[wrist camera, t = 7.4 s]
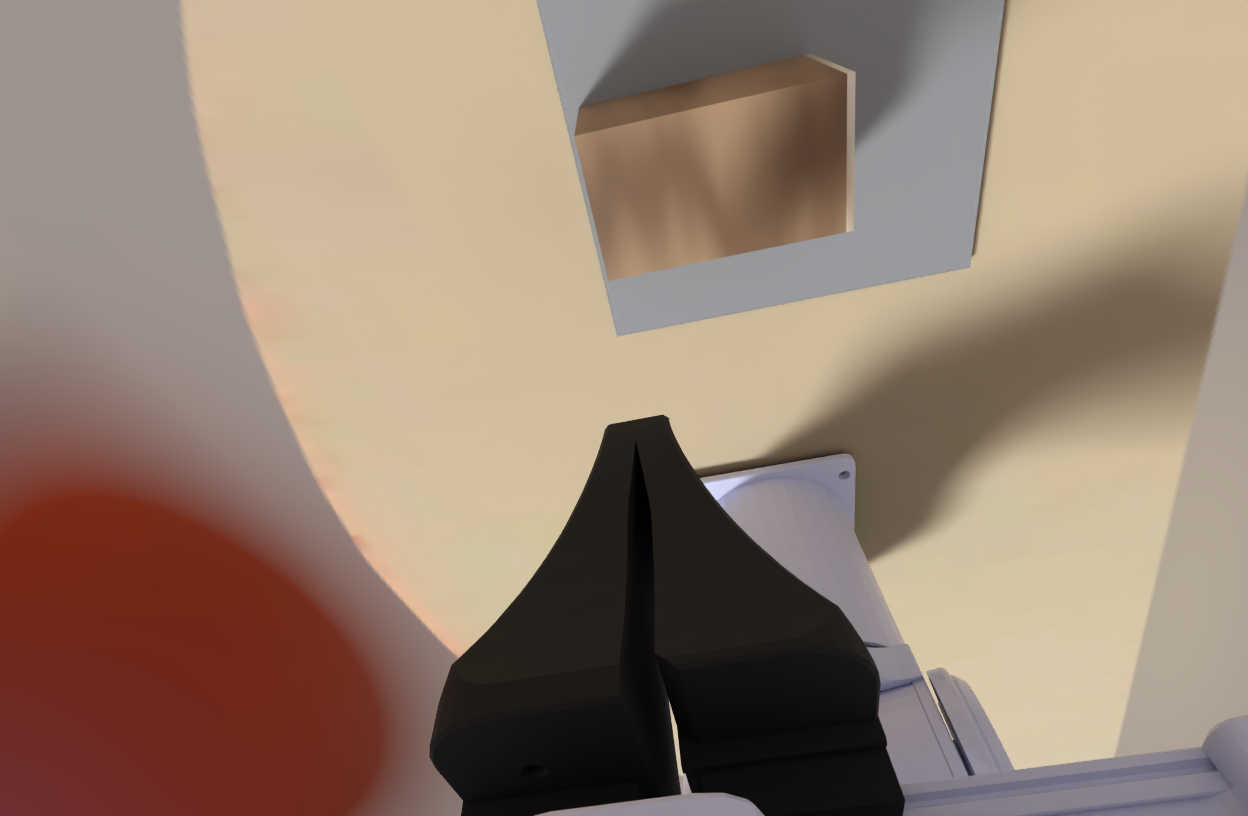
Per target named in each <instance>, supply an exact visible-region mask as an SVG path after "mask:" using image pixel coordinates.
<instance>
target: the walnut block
mask: <svg viewBox="0 0 1248 816" xmlns="http://www.w3.org/2000/svg"><path fill="white" fill-rule="evenodd" d="M855 81H856V72H854V71H852V70H849V69H847V68H845V67H842V66H840V65H837V64H835V63H832V62H830V61H827V60H825V59H822V58H820V57H817V56H815V55H812V54H807V55H802V56H798V57H794V58H789V59H785V60H781V61H776V62H772V63H768V64H764V65H759V66H755V67H751V68H746V69H742V70H738V71H733V72H729V73H725V74H720V75H716V76H712V77H708V78H703V79H699V80H695V81H690V82H686V83H682V84H677V85H673V86H669V87H664V88H660V89H656V90H652V91H647V92H643V93H639V94H634V95H630V96H626V97H621V98H617V99H613V100H608V101H604V102H600V103H596V104H591V105H587V106H583V107H579V110H578V116H577V122H576V128H575V134H574V138H575V142H576V146H577V150H578V155H579V159H580V163H581V167H582V172H583V176H584V180H585V184H586V189H587V193H588V197H589V201H590V206H591V210H592V214H593V218H594V222H595V227H596V231H597V235H598V239H599V244H600V248H601V252H602V256H603V261H604V265H605V269H606V273H607V278H608V281H610V280H615V279H620V278H625V277H630V276H635V275H640V274H645V273H650V272H654V271H659V270H664V269H669V268H674V267H679V266H684V265H689V264H694V263H699V262H703V261H708V260H713V259H718V258H723V257H728V256H733V255H738V254H743V253H747V252H752V251H757V250H762V249H767V248H772V247H777V246H782V245H787V244H792V243H796V242H801V241H806V240H811V239H816V238H821V237H826V236H831V235H836V234H840V233H845V232H850V231H854V160H855Z"/></svg>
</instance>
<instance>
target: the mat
mask: <svg viewBox="0 0 1248 816" xmlns="http://www.w3.org/2000/svg"><path fill="white" fill-rule="evenodd" d="M1004 2H1005V0H537V4H538V9H539V13H540V17H541V21H542V25H543V29H544V34H545V38H546V42H547V46H548V50H549V54H550V59H551V63H552V67H553V71H554V75H555V79H556V83H557V88H558V92H559V96H560V100H561V104H562V108H563V113H564V117H565V121H566V125H567V129H568V133H569V138H570V142H571V146H572V150H573V154H574V158H575V163H576V167H577V171H578V175H579V179H580V183H581V188H582V192H583V196H584V200H585V204H586V208H587V213H588V217H589V221H590V225H591V229H592V233H593V238H594V242H595V246H596V250H597V254H598V258H599V263H600V267H601V271H602V275H603V279H604V283H605V287H606V292H607V296H608V300H609V304H610V308H611V312H612V317H613V321H614V325H615V329H616V333H617V336H622V335H627V334H632V333H638V332H643V331H648V330H653V329H658V328H663V327H668V326H673V325H678V324H684V323H689V322H694V321H699V320H704V319H709V318H714V317H719V316H725V315H730V314H735V313H740V312H745V311H750V310H755V309H760V308H765V307H771V306H776V305H781V304H786V303H791V302H796V301H801V300H806V299H812V298H817V297H822V296H827V295H832V294H837V293H842V292H847V291H852V290H858V289H863V288H868V287H873V286H878V285H883V284H888V283H893V282H898V281H904V280H909V279H914V278H919V277H924V276H929V275H934V274H939V273H945V272H950V271H955V270H960V269H965V268H970V264H971V257H972V249H973V241H974V234H975V226H976V218H977V210H978V203H979V195H980V187H981V180H982V172H983V164H984V157H985V149H986V141H987V133H988V126H989V118H990V110H991V103H992V95H993V87H994V79H995V72H996V64H997V56H998V49H999V41H1000V33H1001V26H1002V18H1003V10H1004ZM807 54H812V55H815V56H817V57H820V58H822V59H825V60H827V61H830V62H832V63H835V64H837V65H840V66H842V67H845V68H847V69H849V70H852V71H854V72H856V81H855V160H854V231H850V232H845V233H840V234H836V235H831V236H826V237H821V238H816V239H811V240H806V241H801V242H796V243H792V244H787V245H782V246H777V247H772V248H767V249H762V250H757V251H752V252H747V253H743V254H738V255H733V256H728V257H723V258H718V259H713V260H708V261H703V262H699V263H694V264H689V265H684V266H679V267H674V268H669V269H664V270H659V271H654V272H650V273H645V274H640V275H635V276H630V277H625V278H620V279H615V280H610V281H608V278H607V273H606V269H605V265H604V261H603V256H602V252H601V248H600V244H599V239H598V235H597V231H596V227H595V222H594V218H593V214H592V210H591V206H590V201H589V197H588V193H587V189H586V184H585V180H584V176H583V172H582V167H581V163H580V159H579V155H578V150H577V146H576V142H575V138H574V134H575V128H576V122H577V116H578V110H579V107H583V106H587V105H591V104H596V103H600V102H604V101H608V100H613V99H617V98H621V97H626V96H630V95H634V94H639V93H643V92H647V91H652V90H656V89H660V88H664V87H669V86H673V85H677V84H682V83H686V82H690V81H695V80H699V79H703V78H708V77H712V76H716V75H720V74H725V73H729V72H733V71H738V70H742V69H746V68H751V67H755V66H759V65H764V64H768V63H772V62H776V61H781V60H785V59H789V58H794V57H798V56H802V55H807Z"/></svg>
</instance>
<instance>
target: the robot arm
mask: <svg viewBox="0 0 1248 816" xmlns="http://www.w3.org/2000/svg"><path fill="white" fill-rule="evenodd" d="M843 471H846V472H845V473H843V474H840V473H841V472H843ZM855 472H856V464H855V461H854V459H853V457H852V456H851V455H849V454H837V455H831V456H826V457H820V458H814V459H808V460H802V461H796V462H791V463H785V464H779V465H773V466H767V467H761V468H756V469H750V470H744V471H738V472H732V473H726V474H721V475H715V476H709V477H703V478H699V477H698V475H697V474H696V472H695V471H694V469H693V468H692V466H691V465H690V463H689V461H688V460H687V458H686V457H685V455H684V453H683V452H682V450H681V448H680V446H679V444H678V442H677V440H676V438H675V436H674V434H673V431H672V429H671V426H670V422H669V418H668V417H666V416H664V415H659V416H653V417H648V418H642V419H637V420H632V421H626V422H621V423H615V424H610V425H608V426H607V428H606V429H605V432H604V436H603V439H602V443H601V446H600V449H599V452H598V455H597V458H596V460H595V463H594V466H593V468H592V471H591V473H590V475H589V478H588V480H587V483H586V485H585V487H584V490H583V492H582V494H581V496H580V498H579V500H578V502H577V504H576V506H575V508H574V510H573V512H572V514H571V516H570V518H569V520H568V522H567V524H566V526H565V527H564V529H563V531H562V533H561V535H560V536H559V538H558V540H557V541H556V543H555V544H554V546H553V548H552V549H551V551H550V552H549V554H548V555H547V557H546V558H545V560H544V561H543V563H542V564H541V566H540V567H539V568H538V570H537V571H536V573H535V574H534V576H533V577H532V578H531V580H530V581H529V582H528V584H527V585H526V586H525V588H524V589H523V590H522V591H521V593H520V594H519V595H518V596H517V597H516V599H515V600H514V601H513V602H512V603H511V604H510V606H509V607H508V608H507V609H506V610H505V612H504V613H503V614H502V615H501V616H500V617H499V619H498V620H497V621H496V622H495V623H494V624H493V625H492V626H491V627H490V629H489V630H488V631H487V632H486V633H485V634H484V635H483V636H482V637H481V638H480V639H479V640H477V641H476V642H475V643H474V644H473V645H472V646H471V647H470V648H469V649H468V650H467V651H466V652H465V653H464V654H463V655H462V656H461V657H460V658H459V659H458V660H457V661H456V662H454V663H453V664H452V666H451V668H450V671H449V674H448V677H447V680H446V683H445V686H444V688H443V692H442V695H441V698H440V701H439V705H438V710H437V714H436V719H435V724H434V729H433V733H432V738H431V743H430V759H431V761H432V762H433V764H434V766H435V768H436V769H437V770H438V772H439V773H440V774H441V775H442V776H443V777H444V778H445V780H446V781H447V782H448V783H449V784H450V786H451V787H452V788H453V789H454V790H455V791H456V792H457V794H458V795H459V796H460V797H461V799H462V800H463V806H462V813H461V816H1248V715H1245V716H1240V717H1236V718H1231V719H1228V720H1225V721H1223V722H1221V723H1219V724H1217V725H1216V726H1214V727H1213V728H1212V729H1211V730H1210V731H1209V732H1208V734H1207V735H1206V737H1205V740H1204V742H1203V745H1202V747H1194V748H1187V749H1179V750H1171V751H1163V752H1155V753H1147V754H1139V755H1131V756H1123V757H1116V758H1107V759H1099V760H1091V761H1084V762H1076V763H1068V764H1060V765H1052V766H1044V767H1036V768H1028V769H1020V770H1014V768H1013V766H1012V764H1011V762H1010V760H1009V758H1008V756H1007V754H1006V752H1005V750H1004V748H1003V746H1002V744H1001V742H1000V740H999V738H998V736H997V734H996V732H995V730H994V728H993V726H992V724H991V722H990V721H989V719H988V717H987V715H986V713H985V711H984V709H983V708H982V706H981V704H980V702H979V700H978V699H977V697H976V695H975V694H974V692H973V690H972V689H971V687H970V686H969V684H968V683H967V682H966V681H964V680H962V679H960V678H958V677H956V676H954V675H950V674H949V673H948V672H947V671H946V669H944V668H936V669H933V670H930V671H927V675H928V677H929V680H930V682H931V685H932V687H933V689H934V692H935V694H936V696H937V699H938V701H939V703H938V704H939V707H940V709H941V712H942V714H943V717H944V719H945V721H946V723H947V726H948V728H949V730H950V733H951V735H952V737H953V739H954V740H952V738H951V736H950V734H949V732H948V729H947V727H946V725H945V723H944V721H943V718H942V716H941V714H940V712H939V710H938V708H937V705H936V703H935V701H934V699H933V697H932V695H931V693H930V690H929V688H928V686H927V684H926V682H925V680H924V678H923V675H922V673H921V671H920V669H919V667H918V664H917V662H916V660H915V658H914V656H913V653H912V651H911V649H910V647H909V645H908V644H905V643H904V641H903V639H902V636H901V634H900V632H899V630H898V628H897V625H896V623H895V621H894V619H893V616H892V614H891V612H890V610H889V608H888V605H887V603H886V601H885V599H884V596H883V594H882V592H881V590H880V588H879V585H878V583H877V581H876V579H875V576H874V574H873V572H872V570H871V568H870V565H869V563H868V561H867V559H866V556H865V554H864V552H863V550H862V548H861V545H860V543H859V541H858V539H857V536H856V534H855V532H854V525H855ZM668 698H669V699H668ZM669 702H670V705H671V708H672V711H673V714H674V718H675V721H676V724H677V729H678V739H679V748H680V758H681V766H682V771H683V773H684V780H683V795H681V790H680V782H679V775H678V768H677V760H676V753H675V745H674V738H673V730H672V723H671V715H670V707H669Z"/></svg>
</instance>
